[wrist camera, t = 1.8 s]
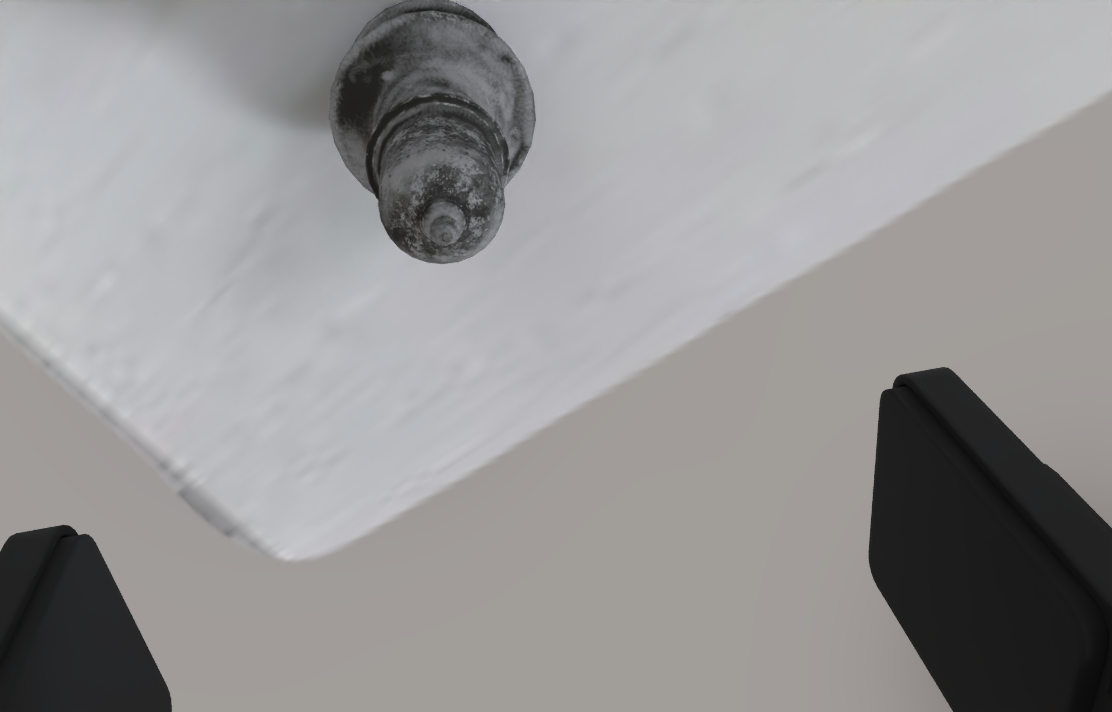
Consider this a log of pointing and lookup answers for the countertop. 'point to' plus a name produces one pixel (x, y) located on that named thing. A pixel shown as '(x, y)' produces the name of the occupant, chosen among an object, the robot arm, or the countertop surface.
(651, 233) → the countertop surface
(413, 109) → the salt shaker
